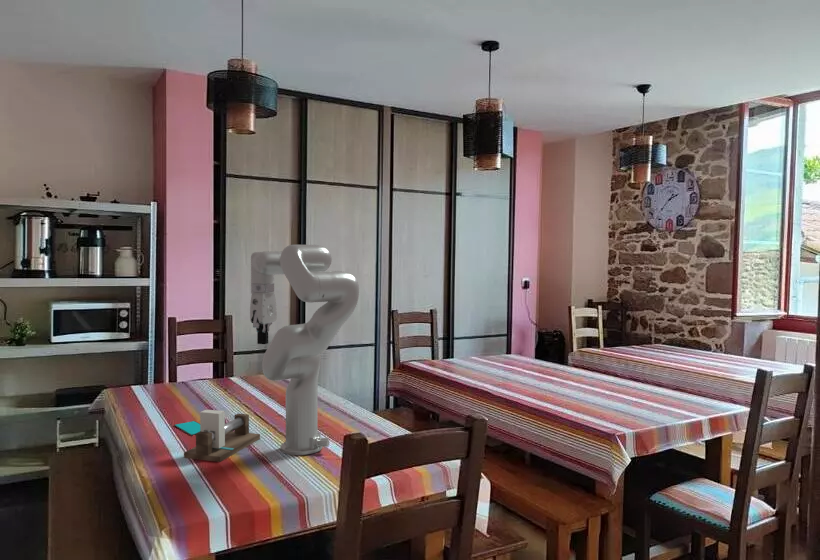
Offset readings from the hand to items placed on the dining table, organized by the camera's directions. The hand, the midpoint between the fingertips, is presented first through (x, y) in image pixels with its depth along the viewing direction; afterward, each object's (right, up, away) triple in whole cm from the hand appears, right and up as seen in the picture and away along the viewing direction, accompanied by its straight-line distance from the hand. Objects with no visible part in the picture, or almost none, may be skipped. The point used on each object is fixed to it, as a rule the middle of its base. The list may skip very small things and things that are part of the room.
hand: (262, 343), depth 197 cm
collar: (-9, -28, -23) cm, 37 cm away
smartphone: (-24, -30, +2) cm, 38 cm away
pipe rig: (-8, -30, -17) cm, 35 cm away
